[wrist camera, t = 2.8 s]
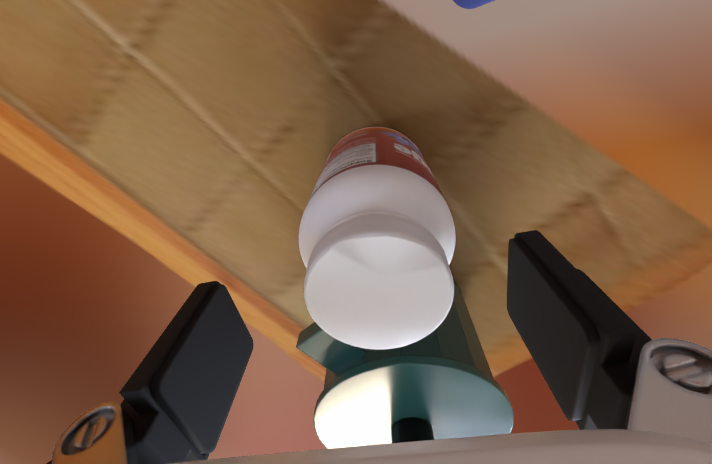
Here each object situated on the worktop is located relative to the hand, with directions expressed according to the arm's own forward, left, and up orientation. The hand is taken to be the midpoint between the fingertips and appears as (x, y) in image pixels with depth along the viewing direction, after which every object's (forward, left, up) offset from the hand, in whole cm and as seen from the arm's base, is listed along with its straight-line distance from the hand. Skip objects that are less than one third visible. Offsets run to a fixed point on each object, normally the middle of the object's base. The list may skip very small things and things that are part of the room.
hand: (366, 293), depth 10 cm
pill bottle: (0, 0, -11) cm, 11 cm away
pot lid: (+6, +10, -2) cm, 11 cm away
